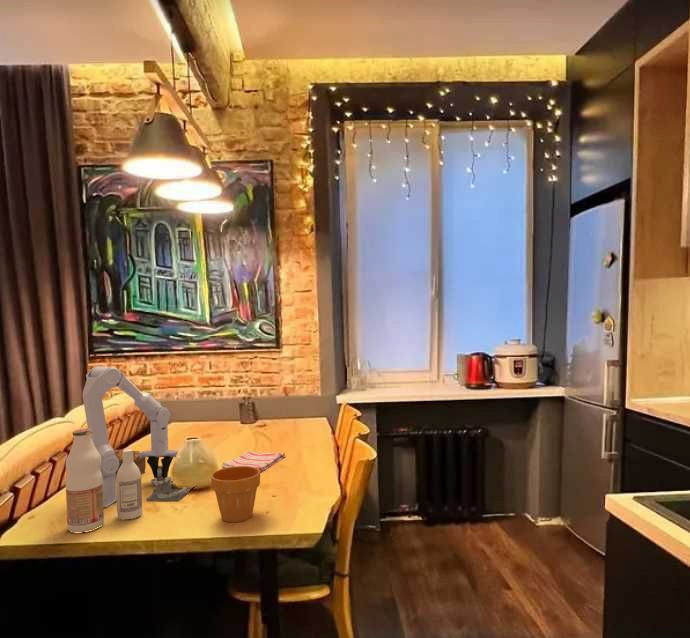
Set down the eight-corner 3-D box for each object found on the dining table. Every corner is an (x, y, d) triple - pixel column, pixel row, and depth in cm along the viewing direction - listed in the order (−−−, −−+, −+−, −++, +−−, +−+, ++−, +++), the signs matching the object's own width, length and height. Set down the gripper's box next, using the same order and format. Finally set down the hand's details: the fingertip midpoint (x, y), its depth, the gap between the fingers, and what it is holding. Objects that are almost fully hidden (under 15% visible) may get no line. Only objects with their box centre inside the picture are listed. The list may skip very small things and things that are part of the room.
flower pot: (240, 504, 163) (239, 463, 163) (271, 514, 154) (269, 470, 154) (202, 519, 152) (201, 475, 152) (233, 530, 143) (231, 484, 143)
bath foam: (146, 515, 156) (144, 449, 156) (123, 523, 151) (121, 454, 150) (136, 510, 161) (133, 446, 160) (113, 517, 155) (111, 450, 155)
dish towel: (220, 472, 199) (219, 463, 199) (250, 455, 221) (249, 447, 221) (259, 475, 193) (259, 465, 193) (286, 457, 216) (286, 449, 216)
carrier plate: (179, 501, 167) (178, 489, 167) (146, 501, 168) (145, 489, 168) (196, 485, 182) (196, 474, 182) (166, 485, 183) (165, 474, 183)
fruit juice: (74, 537, 142) (70, 435, 141) (62, 528, 148) (58, 431, 148) (109, 526, 149) (105, 429, 148) (96, 518, 155) (92, 425, 155)
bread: (85, 481, 191) (84, 454, 191) (101, 472, 202) (100, 447, 202) (134, 481, 190) (133, 454, 190) (147, 472, 201) (146, 446, 200)
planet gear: (166, 486, 182) (165, 469, 182) (147, 486, 183) (146, 469, 183) (174, 480, 189) (173, 463, 189) (156, 480, 190) (155, 463, 190)
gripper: (183, 436, 189) (184, 473, 189) (145, 437, 190) (146, 473, 190) (175, 441, 182) (176, 479, 182) (135, 441, 183) (137, 479, 183)
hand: (160, 477), depth 186 cm, fingers closed on planet gear, 3 cm apart
